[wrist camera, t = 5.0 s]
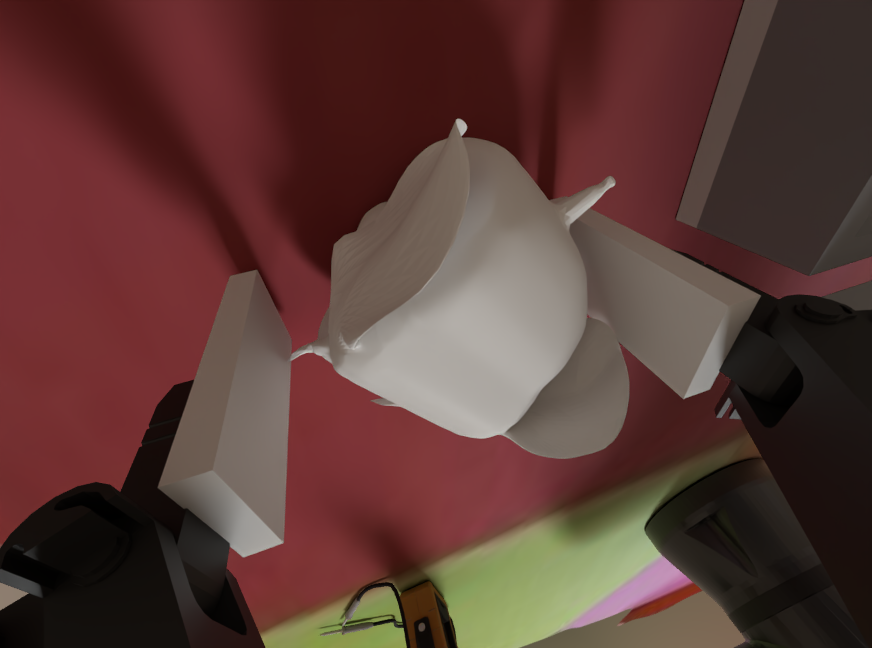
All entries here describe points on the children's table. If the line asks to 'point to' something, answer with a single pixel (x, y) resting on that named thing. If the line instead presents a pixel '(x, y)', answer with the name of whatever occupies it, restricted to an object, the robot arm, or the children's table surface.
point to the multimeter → (413, 617)
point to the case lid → (854, 296)
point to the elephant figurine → (476, 306)
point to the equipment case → (790, 137)
